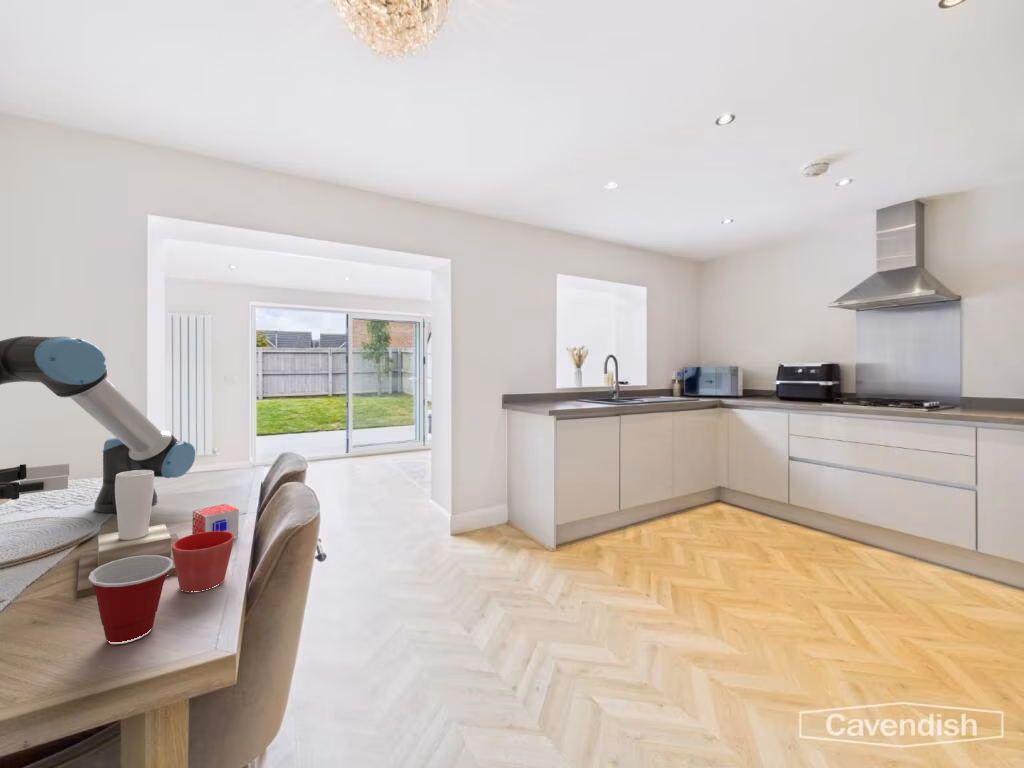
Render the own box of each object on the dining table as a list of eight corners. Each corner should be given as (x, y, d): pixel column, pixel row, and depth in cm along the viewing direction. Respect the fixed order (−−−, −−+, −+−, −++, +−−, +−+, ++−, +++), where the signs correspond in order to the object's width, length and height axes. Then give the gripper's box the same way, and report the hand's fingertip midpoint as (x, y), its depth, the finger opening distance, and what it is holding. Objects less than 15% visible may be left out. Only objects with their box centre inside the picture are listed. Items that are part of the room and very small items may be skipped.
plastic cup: (139, 655, 67) (140, 582, 66) (66, 656, 66) (68, 582, 66) (186, 616, 77) (188, 553, 77) (125, 617, 77) (126, 552, 76)
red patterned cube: (225, 531, 119) (225, 503, 119) (238, 537, 114) (238, 509, 114) (191, 539, 112) (192, 510, 112) (204, 547, 108) (205, 516, 108)
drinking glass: (160, 532, 100) (162, 470, 100) (132, 543, 93) (133, 477, 93) (135, 530, 100) (136, 468, 100) (105, 541, 94) (106, 475, 94)
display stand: (79, 557, 99) (80, 531, 99) (176, 539, 112) (176, 515, 112) (76, 598, 82) (77, 565, 82) (190, 570, 95) (191, 542, 95)
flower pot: (245, 577, 93) (246, 534, 93) (193, 602, 82) (194, 553, 82) (211, 568, 96) (212, 527, 96) (158, 591, 86) (159, 544, 86)
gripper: (-80, 497, 86) (69, 480, 101) (-121, 533, 69) (67, 506, 84) (-81, 461, 86) (69, 449, 101) (-122, 489, 68) (67, 469, 84)
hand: (68, 475), depth 92 cm, fingers open, 13 cm apart
